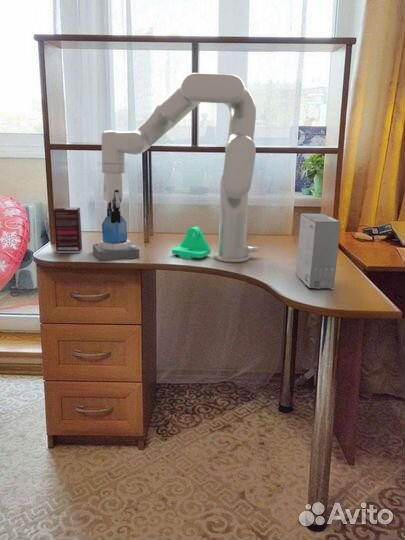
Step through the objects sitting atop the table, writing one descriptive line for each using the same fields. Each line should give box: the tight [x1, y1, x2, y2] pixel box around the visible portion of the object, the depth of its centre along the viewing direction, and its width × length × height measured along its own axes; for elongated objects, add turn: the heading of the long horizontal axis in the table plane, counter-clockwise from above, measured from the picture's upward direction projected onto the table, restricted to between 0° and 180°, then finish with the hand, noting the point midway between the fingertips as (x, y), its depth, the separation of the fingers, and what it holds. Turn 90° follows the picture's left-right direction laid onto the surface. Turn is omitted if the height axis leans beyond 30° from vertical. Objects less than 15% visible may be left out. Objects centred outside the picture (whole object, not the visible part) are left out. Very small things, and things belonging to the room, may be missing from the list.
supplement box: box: [52, 206, 83, 254], centre depth 172 cm, size 9×5×16 cm, turn 94°
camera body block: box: [92, 238, 140, 261], centre depth 171 cm, size 14×12×5 cm
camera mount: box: [171, 226, 212, 260], centre depth 171 cm, size 12×8×10 cm, turn 62°
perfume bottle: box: [101, 207, 128, 243], centre depth 168 cm, size 6×6×12 cm
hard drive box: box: [295, 213, 342, 289], centre depth 143 cm, size 16×8×20 cm, turn 4°
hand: (113, 220), depth 168 cm, fingers closed on perfume bottle, 5 cm apart
